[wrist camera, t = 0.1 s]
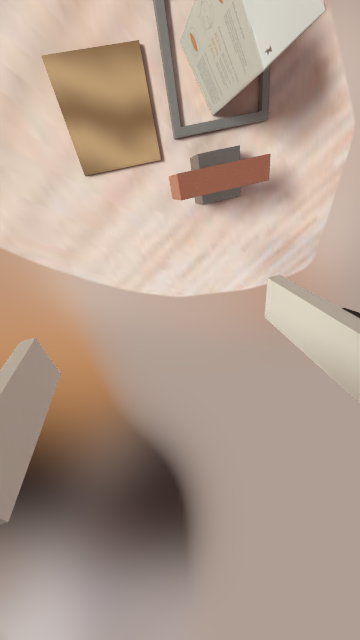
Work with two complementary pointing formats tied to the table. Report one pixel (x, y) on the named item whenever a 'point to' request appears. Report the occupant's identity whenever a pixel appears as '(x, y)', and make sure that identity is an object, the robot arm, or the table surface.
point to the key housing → (213, 160)
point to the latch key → (220, 177)
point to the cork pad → (105, 105)
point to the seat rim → (172, 97)
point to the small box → (241, 41)
